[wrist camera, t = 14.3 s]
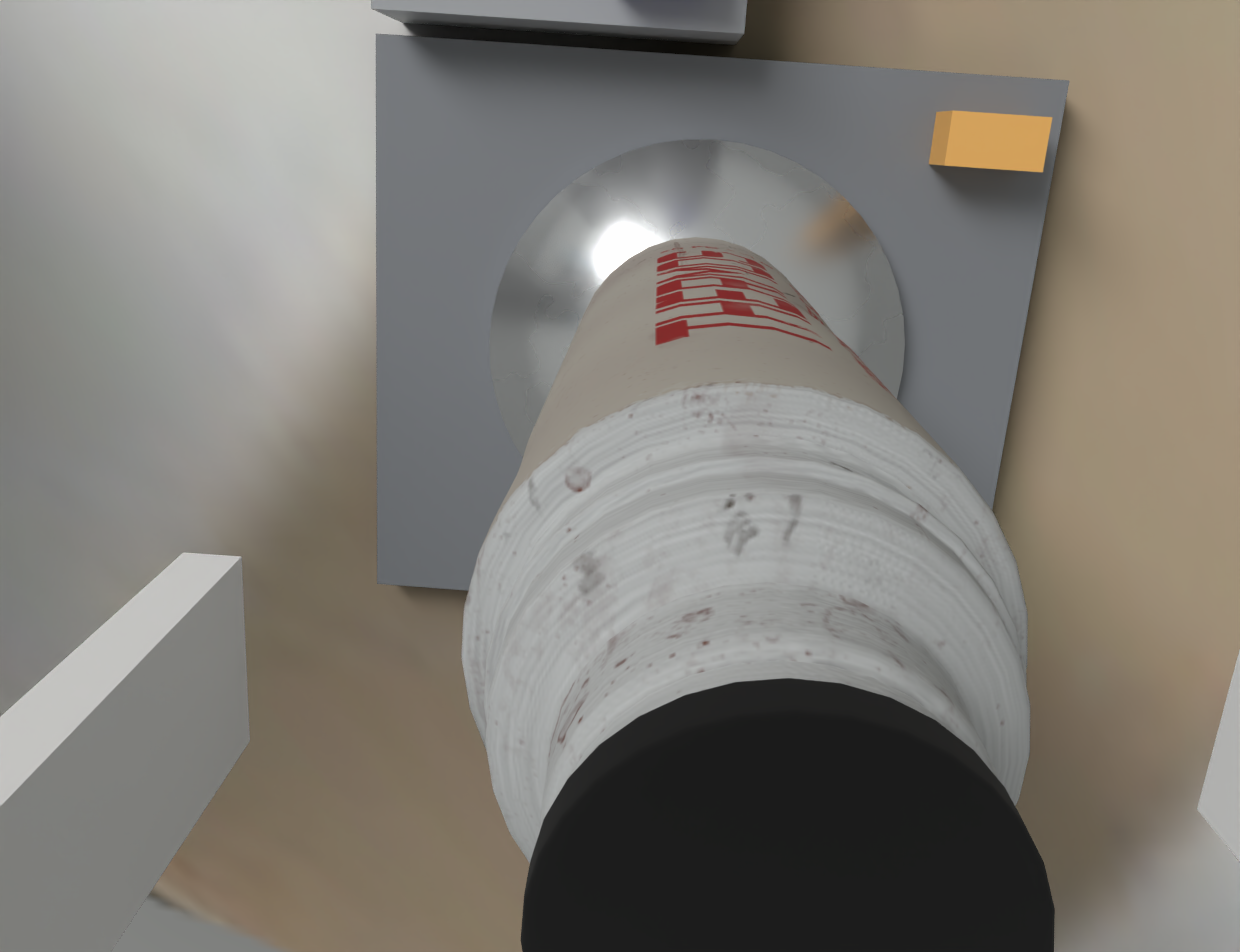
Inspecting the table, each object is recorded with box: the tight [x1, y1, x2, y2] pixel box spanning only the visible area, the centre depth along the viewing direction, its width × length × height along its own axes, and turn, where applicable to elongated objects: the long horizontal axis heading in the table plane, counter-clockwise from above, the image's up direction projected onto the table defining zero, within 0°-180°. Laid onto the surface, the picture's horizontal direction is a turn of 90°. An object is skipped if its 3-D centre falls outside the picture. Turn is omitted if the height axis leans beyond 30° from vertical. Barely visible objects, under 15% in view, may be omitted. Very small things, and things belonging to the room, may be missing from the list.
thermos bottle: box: [461, 237, 1055, 952], centre depth 23 cm, size 8×8×28 cm
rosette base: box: [376, 34, 1069, 590], centre depth 37 cm, size 22×19×4 cm
